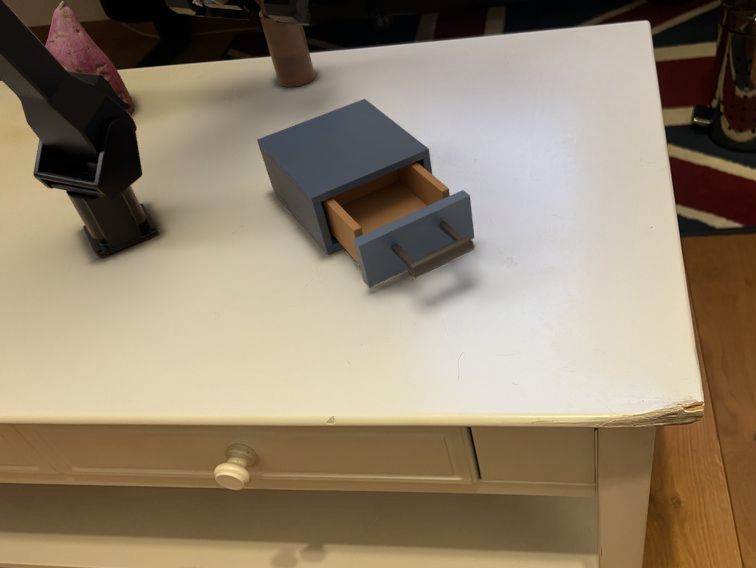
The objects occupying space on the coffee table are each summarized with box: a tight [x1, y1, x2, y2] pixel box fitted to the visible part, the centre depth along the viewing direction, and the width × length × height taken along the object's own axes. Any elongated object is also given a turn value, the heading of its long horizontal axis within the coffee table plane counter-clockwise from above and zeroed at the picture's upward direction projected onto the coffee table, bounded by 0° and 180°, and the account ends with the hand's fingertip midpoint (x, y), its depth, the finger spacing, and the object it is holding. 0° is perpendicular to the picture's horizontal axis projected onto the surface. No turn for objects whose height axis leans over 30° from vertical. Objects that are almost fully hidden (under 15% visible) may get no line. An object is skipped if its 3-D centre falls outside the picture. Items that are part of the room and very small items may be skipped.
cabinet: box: [256, 98, 434, 255], centre depth 75 cm, size 14×13×7 cm
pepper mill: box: [255, 0, 316, 88], centre depth 93 cm, size 5×5×14 cm
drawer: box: [321, 162, 475, 288], centre depth 68 cm, size 17×11×5 cm
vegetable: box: [44, 0, 135, 115], centre depth 93 cm, size 10×10×15 cm
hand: (278, 18), depth 92 cm, fingers open, 9 cm apart
